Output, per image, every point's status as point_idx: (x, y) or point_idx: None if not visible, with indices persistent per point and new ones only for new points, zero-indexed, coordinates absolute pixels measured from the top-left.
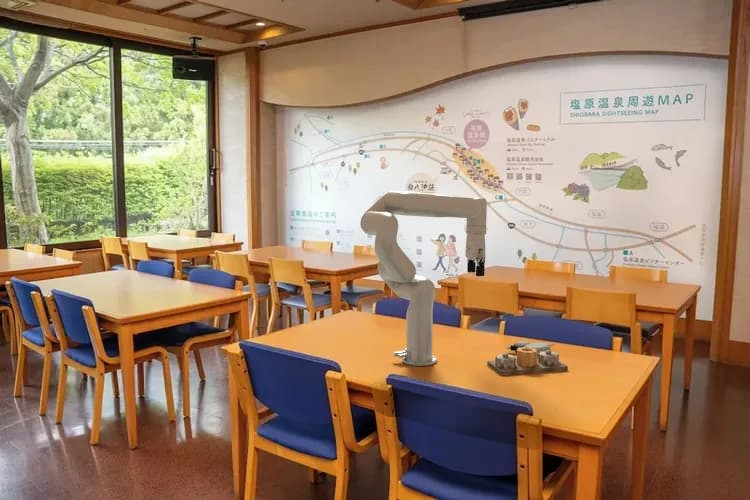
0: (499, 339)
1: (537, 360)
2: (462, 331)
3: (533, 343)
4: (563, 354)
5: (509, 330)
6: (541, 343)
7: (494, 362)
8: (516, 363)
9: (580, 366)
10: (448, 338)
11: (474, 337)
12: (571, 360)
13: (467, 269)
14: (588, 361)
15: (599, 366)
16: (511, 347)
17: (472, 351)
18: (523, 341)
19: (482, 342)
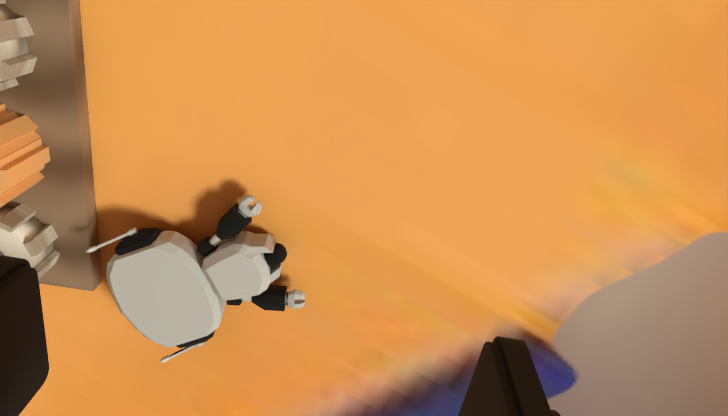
0: (462, 272)
1: (44, 213)
2: (691, 194)
3: (200, 304)
4: None
5: (568, 380)
6: (183, 328)
7: (36, 10)
8: (8, 104)
9: None
10: (619, 51)
11: (555, 190)
12: (89, 340)
13: (529, 372)
14: (68, 377)
15: None
16: (229, 211)
17: (328, 44)
18: (246, 287)
19: (455, 178)
